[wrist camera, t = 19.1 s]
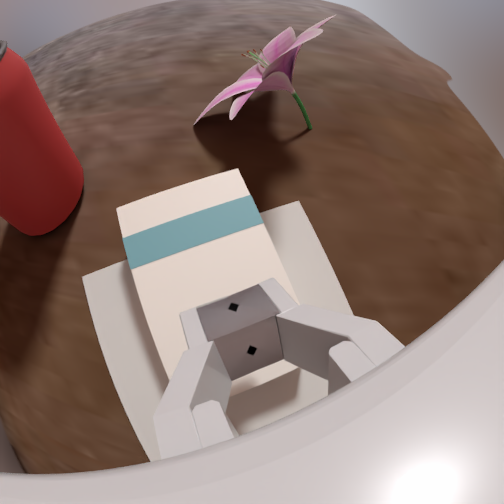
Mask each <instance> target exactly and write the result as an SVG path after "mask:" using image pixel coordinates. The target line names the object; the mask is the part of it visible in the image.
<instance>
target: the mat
mask: <svg viewBox="0 0 504 504" xmlns="http://www.w3.org/2000/svg"><path fill="white" fill-rule="evenodd" d="M260 216H261V218H262V220H263V222H264V225H265V228H266V230H267V232H268V234H269V236H270V239H271V241H272V243H273V245H274V247H275V250H276V252H277V254H278V256H279V258H280V261H281V263H282V265H283V267H284V270H285V272H286V274H287V276H288V279H289V281H290V283H291V285H292V288H293V290H294V292H295V294H296V297H297V299H298V301H299V303H300V305H301V304H307V305H311V306H315V307H319V308H323V309H327V310H331V311H335V312H340V313H344V314H348V315H352V316H354V315H353V313H352V311H351V308H350V306H349V304H348V302H347V299H346V297H345V295H344V293H343V290H342V288H341V286H340V284H339V282H338V279H337V277H336V275H335V273H334V271H333V269H332V267H331V264H330V262H329V260H328V258H327V256H326V254H325V252H324V250H323V248H322V246H321V244H320V242H319V240H318V238H317V236H316V234H315V232H314V230H313V228H312V226H311V224H310V222H309V220H308V218H307V216H306V214H305V212H304V210H303V208H302V206H301V204H300V202H299V201H296V202H293V203H290V204H287V205H284V206H280V207H277V208H274V209H271V210H268V211H265V212H262V213H260ZM82 278H83V283H84V287H85V292H86V296H87V300H88V304H89V308H90V312H91V316H92V319H93V323H94V326H95V330H96V333H97V336H98V340H99V343H100V346H101V349H102V352H103V355H104V358H105V361H106V364H107V366H108V369H109V372H110V375H111V377H112V380H113V382H114V385H115V388H116V390H117V393H118V395H119V397H120V400H121V402H122V404H123V407H124V409H125V411H126V414H127V416H128V418H129V420H130V422H131V424H132V426H133V429H134V431H135V433H136V435H137V437H138V439H139V441H140V443H141V445H142V446H143V448H144V450H145V452H146V454H147V456H148V458H149V459H150V461H151V462H152V461H156V460H161V456H160V451H159V446H158V441H157V436H156V431H155V426H154V420H153V416H154V414H155V411H156V409H157V407H158V405H159V403H160V401H161V399H162V396H163V394H164V392H165V390H166V388H167V386H168V384H169V381H170V380H169V378H168V376H167V373H166V371H165V368H164V366H163V363H162V361H161V358H160V356H159V353H158V350H157V348H156V345H155V342H154V340H153V337H152V334H151V331H150V328H149V325H148V323H147V320H146V317H145V314H144V311H143V308H142V304H141V301H140V298H139V295H138V292H137V288H136V285H135V282H134V278H133V275H132V271H131V269H130V266H129V262H128V259H127V260H124V261H122V262H119V263H116V264H114V265H111V266H109V267H106V268H103V269H101V270H98V271H96V272H93V273H91V274H88V275H86V276H83V277H82ZM326 396H328V380H326V379H323V378H321V377H319V376H317V375H315V374H312V373H310V372H308V371H306V370H304V369H302V368H300V367H299V368H296V369H294V370H292V371H290V372H288V373H286V374H283V375H281V376H279V377H277V378H275V379H272V380H270V381H268V382H265V383H263V384H261V385H258V386H256V387H253V388H251V389H249V390H246V391H244V392H241V393H239V394H236V395H233V396H231V397H229V400H228V404H227V409H226V414H227V416H228V418H229V419H230V421H231V423H232V424H233V426H234V428H235V429H236V431H237V432H238V434H239V436H240V435H242V434H245V433H248V432H250V431H253V430H255V429H258V428H260V427H263V426H265V425H267V424H270V423H272V422H274V421H277V420H279V419H281V418H283V417H285V416H288V415H290V414H292V413H294V412H296V411H298V410H300V409H302V408H304V407H306V406H308V405H310V404H312V403H314V402H316V401H318V400H320V399H322V398H324V397H326Z"/></svg>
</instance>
